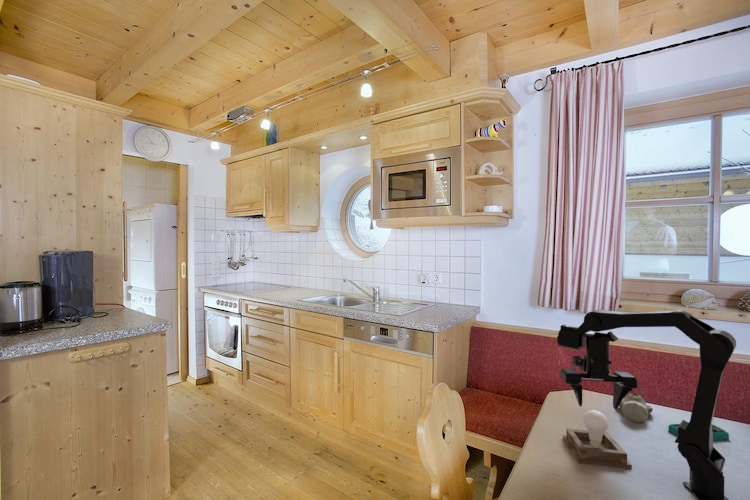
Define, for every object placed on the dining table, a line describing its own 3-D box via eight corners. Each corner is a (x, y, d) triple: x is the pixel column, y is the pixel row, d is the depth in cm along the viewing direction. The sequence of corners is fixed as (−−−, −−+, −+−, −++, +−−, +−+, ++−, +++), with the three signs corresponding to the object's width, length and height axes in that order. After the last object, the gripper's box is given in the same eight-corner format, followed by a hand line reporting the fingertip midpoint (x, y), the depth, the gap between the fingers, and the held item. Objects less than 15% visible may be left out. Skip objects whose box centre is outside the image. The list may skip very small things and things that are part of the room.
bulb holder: (631, 468, 94) (631, 455, 94) (578, 463, 97) (579, 450, 97) (608, 442, 107) (609, 431, 107) (562, 438, 110) (562, 427, 110)
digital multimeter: (731, 441, 110) (731, 431, 110) (690, 444, 107) (690, 434, 107) (706, 429, 117) (705, 420, 117) (667, 432, 115) (667, 423, 115)
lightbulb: (578, 446, 103) (578, 408, 103) (591, 441, 106) (591, 405, 106) (599, 457, 98) (599, 417, 98) (612, 452, 100) (612, 413, 100)
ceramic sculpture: (616, 394, 122) (616, 383, 134) (616, 419, 122) (616, 406, 134) (655, 402, 116) (652, 390, 128) (655, 429, 116) (652, 414, 128)
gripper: (619, 348, 109) (618, 398, 109) (554, 344, 112) (554, 393, 112) (639, 358, 98) (639, 415, 98) (566, 354, 101) (566, 409, 101)
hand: (597, 407), depth 102 cm, fingers open, 9 cm apart
